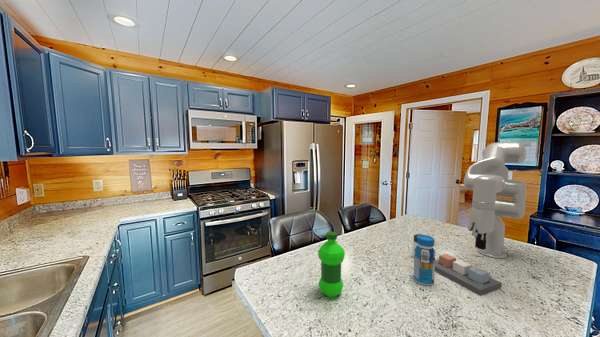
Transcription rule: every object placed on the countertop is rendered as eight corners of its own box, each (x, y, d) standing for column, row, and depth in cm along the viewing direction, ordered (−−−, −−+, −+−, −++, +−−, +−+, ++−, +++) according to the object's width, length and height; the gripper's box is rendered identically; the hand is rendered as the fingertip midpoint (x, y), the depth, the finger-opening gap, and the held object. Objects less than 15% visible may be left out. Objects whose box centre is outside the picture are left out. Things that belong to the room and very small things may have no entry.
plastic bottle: (317, 285, 99) (317, 228, 97) (341, 286, 98) (343, 229, 96) (318, 300, 89) (319, 238, 87) (345, 301, 88) (347, 238, 86)
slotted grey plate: (447, 262, 119) (447, 257, 119) (501, 288, 97) (501, 282, 97) (427, 267, 114) (427, 262, 114) (479, 295, 92) (480, 289, 92)
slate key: (475, 275, 102) (476, 267, 102) (488, 281, 98) (489, 272, 97) (468, 277, 100) (468, 269, 100) (480, 284, 96) (481, 274, 96)
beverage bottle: (408, 277, 105) (410, 235, 103) (421, 274, 108) (423, 232, 106) (425, 288, 97) (427, 242, 95) (438, 283, 100) (441, 239, 99)
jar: (424, 263, 118) (425, 241, 117) (409, 257, 125) (410, 236, 124) (433, 259, 123) (434, 237, 122) (418, 253, 129) (419, 232, 128)
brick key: (445, 261, 115) (446, 253, 115) (455, 266, 111) (456, 258, 110) (438, 263, 113) (439, 255, 113) (448, 268, 109) (448, 259, 109)
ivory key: (459, 268, 109) (460, 259, 108) (471, 273, 104) (471, 264, 104) (452, 270, 107) (453, 261, 107) (463, 275, 102) (464, 266, 102)
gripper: (484, 202, 103) (481, 242, 104) (462, 205, 97) (459, 247, 99) (504, 206, 96) (501, 249, 97) (481, 209, 90) (478, 254, 92)
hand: (480, 248), depth 98 cm, fingers closed
